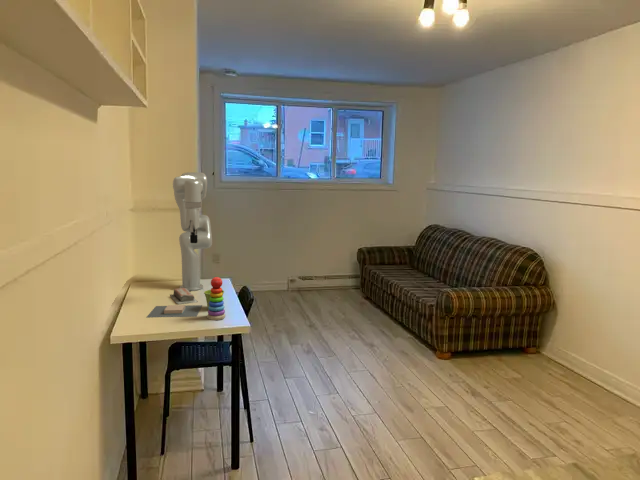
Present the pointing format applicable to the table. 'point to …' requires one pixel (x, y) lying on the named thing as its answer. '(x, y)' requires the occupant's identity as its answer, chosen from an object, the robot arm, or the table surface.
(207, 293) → the plant pot
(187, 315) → the mat
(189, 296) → the packaged product
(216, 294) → the stacking toy
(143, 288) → the table surface
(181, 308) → the tile
